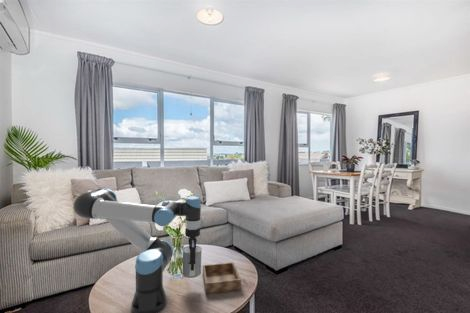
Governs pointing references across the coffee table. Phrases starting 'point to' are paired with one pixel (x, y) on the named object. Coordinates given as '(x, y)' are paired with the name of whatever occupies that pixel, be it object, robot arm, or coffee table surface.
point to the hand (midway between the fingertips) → (191, 270)
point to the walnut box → (221, 278)
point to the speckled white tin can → (187, 260)
